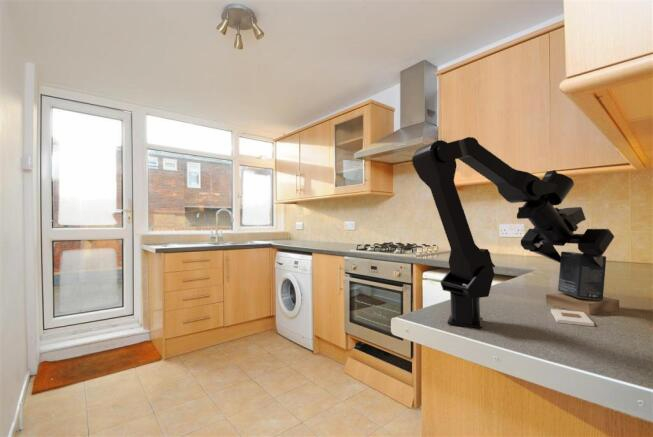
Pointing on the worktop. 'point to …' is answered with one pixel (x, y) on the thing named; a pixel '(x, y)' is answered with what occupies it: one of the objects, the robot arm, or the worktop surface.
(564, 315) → the card
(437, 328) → the worktop surface
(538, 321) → the worktop surface
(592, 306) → the walnut slab
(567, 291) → the box
